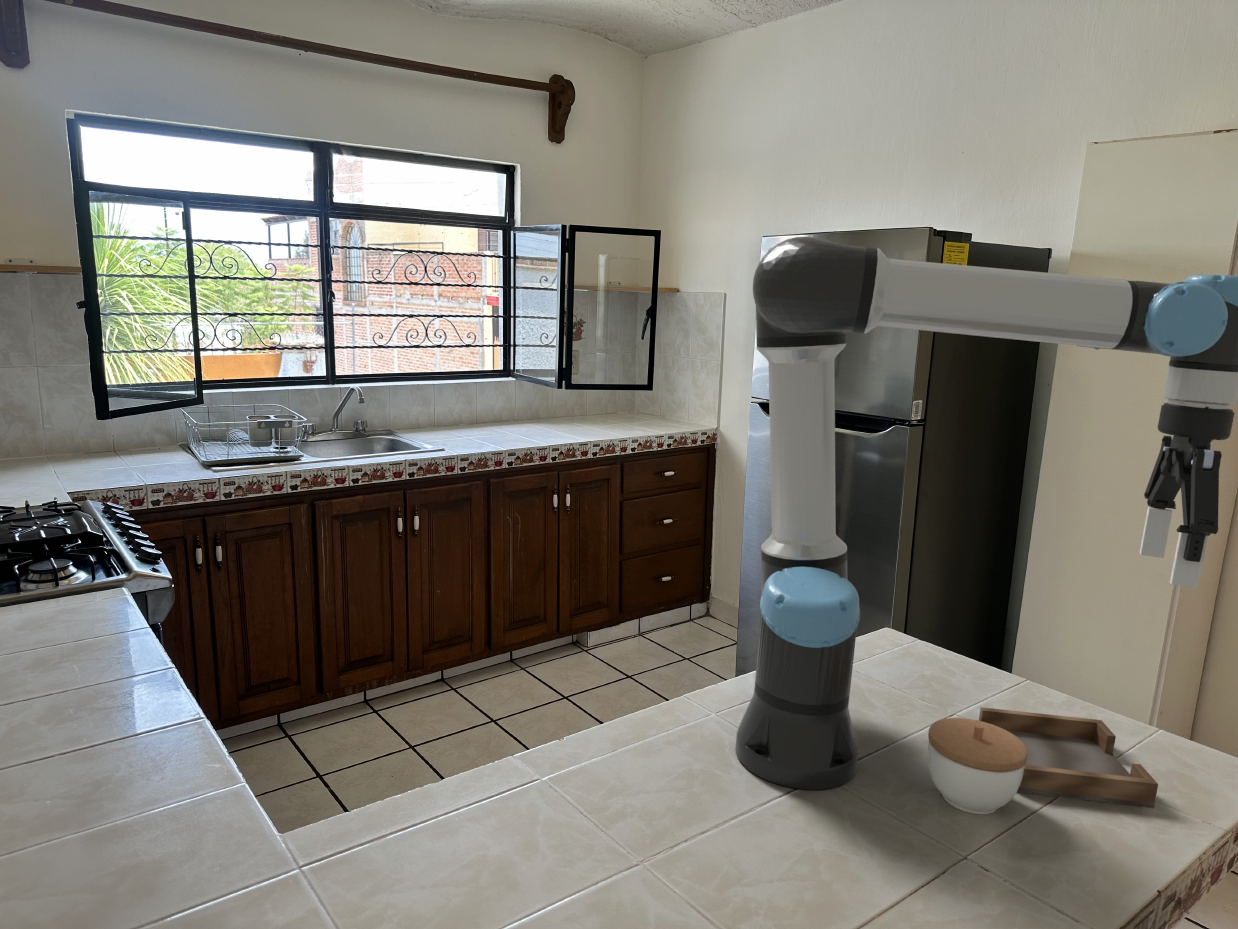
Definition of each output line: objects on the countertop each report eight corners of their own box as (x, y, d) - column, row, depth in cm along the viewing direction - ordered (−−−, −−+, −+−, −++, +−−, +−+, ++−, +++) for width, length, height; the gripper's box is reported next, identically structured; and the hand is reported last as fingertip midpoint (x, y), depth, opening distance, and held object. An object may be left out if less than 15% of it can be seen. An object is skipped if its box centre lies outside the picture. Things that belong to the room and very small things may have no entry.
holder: (1014, 791, 102) (1017, 768, 101) (977, 727, 117) (980, 707, 117) (1153, 808, 100) (1158, 784, 99) (1097, 741, 115) (1101, 720, 115)
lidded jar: (1000, 779, 104) (1010, 709, 103) (1033, 831, 94) (1045, 754, 92) (911, 770, 105) (920, 701, 104) (934, 821, 95) (945, 745, 93)
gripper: (1277, 418, 91) (1237, 605, 95) (1199, 398, 114) (1170, 549, 118) (1197, 411, 93) (1161, 594, 97) (1136, 393, 116) (1110, 541, 120)
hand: (1166, 570), depth 107 cm, fingers open, 13 cm apart
